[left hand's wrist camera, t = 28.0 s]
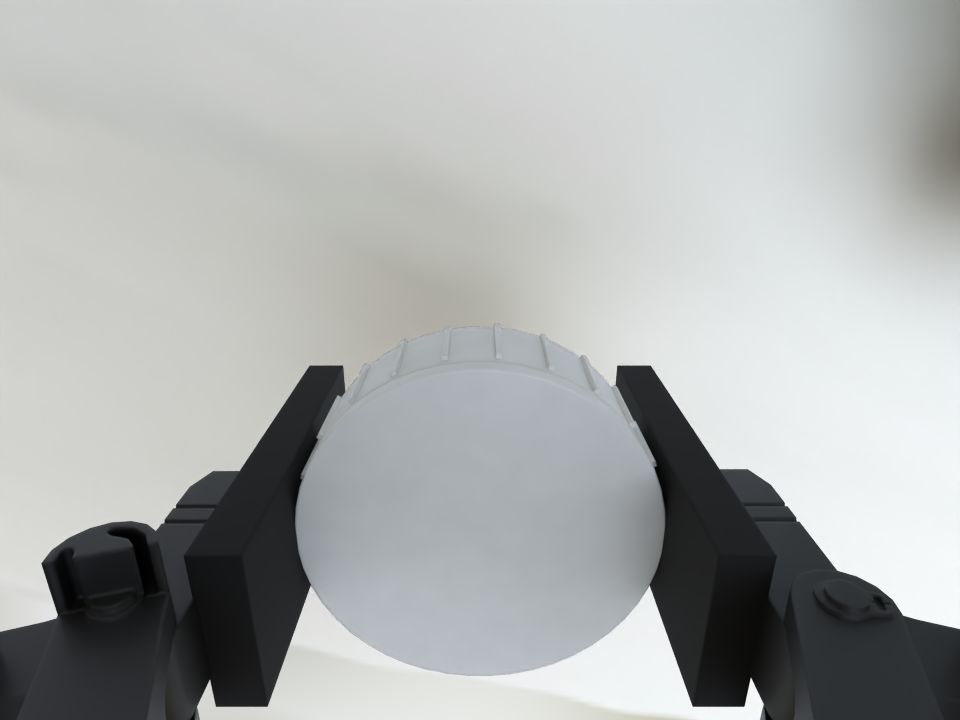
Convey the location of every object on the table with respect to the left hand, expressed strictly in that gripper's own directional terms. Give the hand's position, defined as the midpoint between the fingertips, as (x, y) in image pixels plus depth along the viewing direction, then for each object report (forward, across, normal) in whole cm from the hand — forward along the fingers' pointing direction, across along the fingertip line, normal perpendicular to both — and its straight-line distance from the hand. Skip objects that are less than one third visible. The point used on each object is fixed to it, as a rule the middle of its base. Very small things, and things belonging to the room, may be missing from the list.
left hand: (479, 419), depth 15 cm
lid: (-4, 0, 0) cm, 4 cm away
